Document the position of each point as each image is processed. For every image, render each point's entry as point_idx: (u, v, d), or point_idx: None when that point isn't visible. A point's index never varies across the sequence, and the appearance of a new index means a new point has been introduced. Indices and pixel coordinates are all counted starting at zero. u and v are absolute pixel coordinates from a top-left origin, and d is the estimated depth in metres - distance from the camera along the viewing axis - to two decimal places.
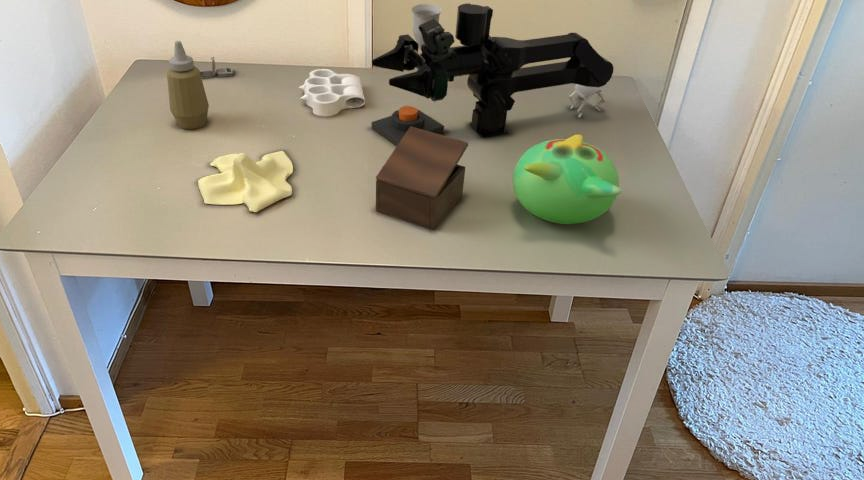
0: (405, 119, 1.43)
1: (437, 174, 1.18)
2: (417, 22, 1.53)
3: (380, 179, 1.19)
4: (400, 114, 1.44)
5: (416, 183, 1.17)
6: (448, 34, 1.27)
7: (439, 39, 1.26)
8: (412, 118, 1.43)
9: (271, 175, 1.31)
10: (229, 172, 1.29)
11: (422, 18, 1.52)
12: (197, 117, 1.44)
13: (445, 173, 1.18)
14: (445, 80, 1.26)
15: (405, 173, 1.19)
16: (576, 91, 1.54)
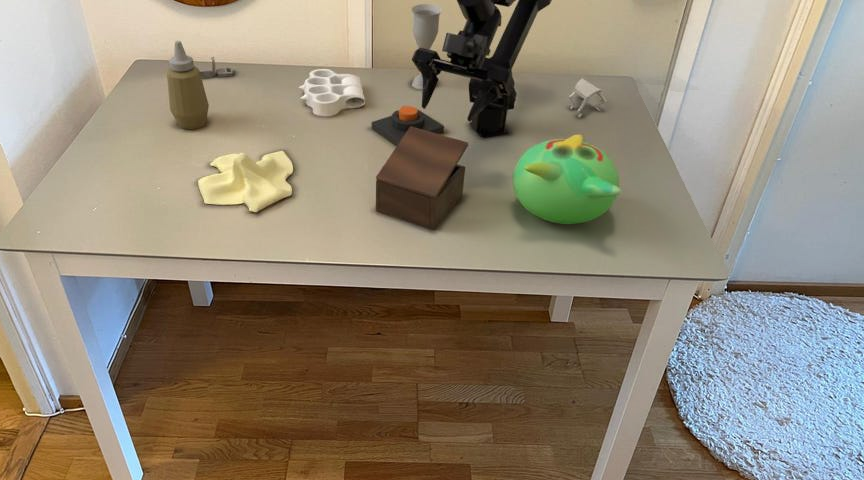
0: (405, 119, 1.43)
1: (437, 174, 1.18)
2: (417, 22, 1.53)
3: (380, 179, 1.19)
4: (400, 114, 1.44)
5: (416, 183, 1.17)
6: (480, 39, 1.16)
7: (479, 51, 1.16)
8: (412, 118, 1.43)
9: (271, 175, 1.31)
10: (229, 172, 1.29)
11: (422, 18, 1.52)
12: (197, 117, 1.44)
13: (445, 173, 1.18)
14: (511, 76, 1.20)
15: (405, 173, 1.19)
16: (576, 91, 1.54)
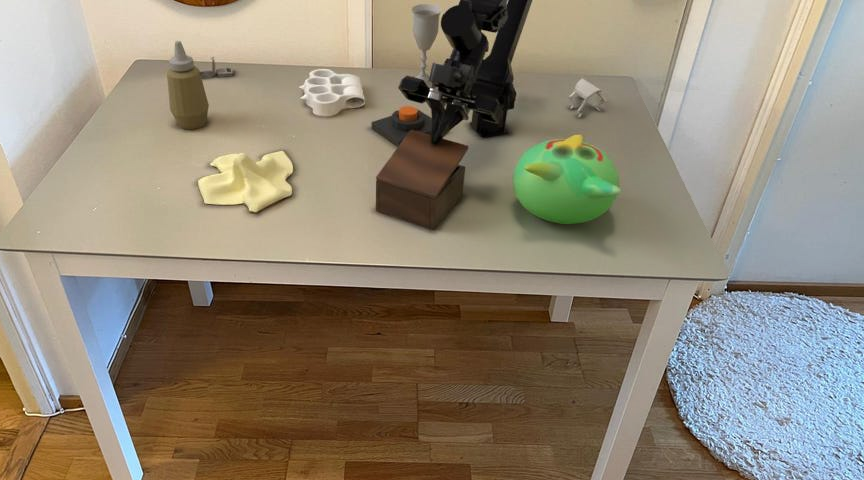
0: (405, 119, 1.43)
1: (437, 175, 1.18)
2: (417, 22, 1.53)
3: (380, 179, 1.19)
4: (400, 114, 1.44)
5: (416, 184, 1.17)
6: (467, 69, 1.14)
7: (466, 82, 1.15)
8: (412, 118, 1.43)
9: (271, 175, 1.31)
10: (229, 172, 1.29)
11: (422, 18, 1.52)
12: (197, 117, 1.44)
13: (445, 174, 1.18)
14: (499, 105, 1.18)
15: (406, 174, 1.19)
16: (576, 91, 1.54)
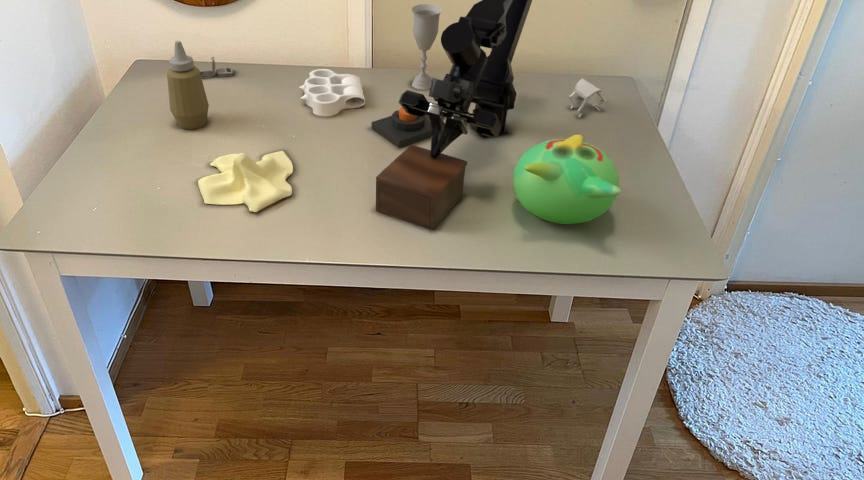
0: (405, 119, 1.43)
1: (437, 180, 1.19)
2: (417, 22, 1.53)
3: (380, 179, 1.19)
4: (400, 114, 1.44)
5: (417, 185, 1.18)
6: (467, 85, 1.17)
7: (465, 97, 1.17)
8: (412, 118, 1.43)
9: (271, 175, 1.31)
10: (229, 172, 1.29)
11: (422, 18, 1.52)
12: (197, 117, 1.44)
13: (445, 180, 1.19)
14: (498, 120, 1.20)
15: (406, 177, 1.20)
16: (576, 91, 1.54)
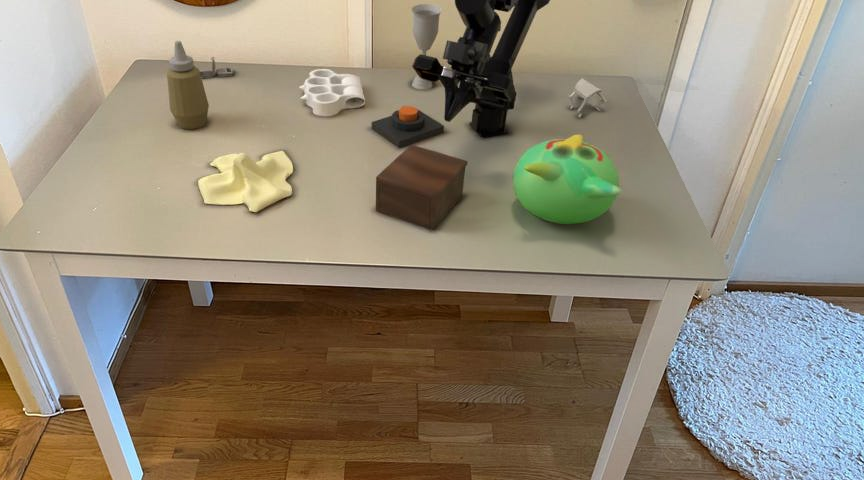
0: (405, 119, 1.43)
1: (437, 180, 1.19)
2: (417, 22, 1.53)
3: (380, 179, 1.19)
4: (400, 114, 1.44)
5: (417, 185, 1.18)
6: (481, 46, 1.17)
7: (480, 59, 1.17)
8: (412, 118, 1.43)
9: (271, 175, 1.31)
10: (229, 172, 1.29)
11: (422, 18, 1.52)
12: (197, 117, 1.44)
13: (445, 180, 1.19)
14: (512, 83, 1.20)
15: (406, 177, 1.20)
16: (576, 91, 1.54)
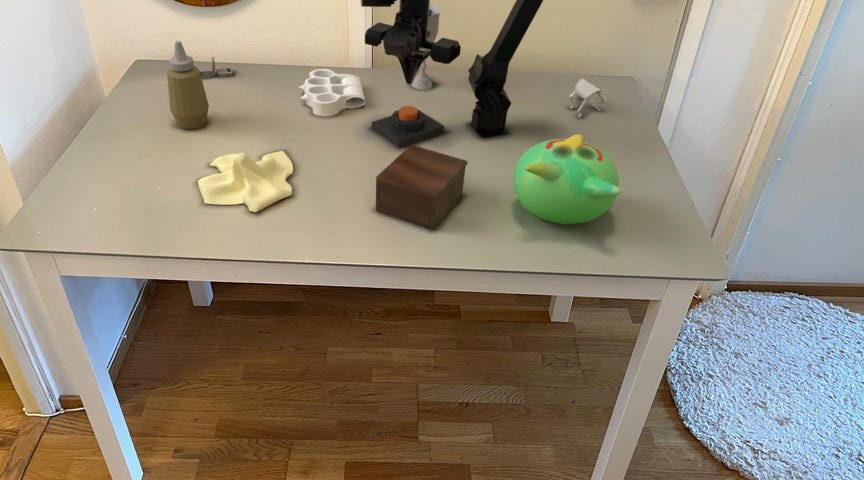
0: (405, 119, 1.43)
1: (437, 180, 1.19)
2: None
3: (380, 179, 1.19)
4: (400, 114, 1.44)
5: (417, 185, 1.18)
6: (413, 42, 1.26)
7: (416, 51, 1.27)
8: (412, 118, 1.43)
9: (271, 175, 1.31)
10: (229, 172, 1.29)
11: None
12: (197, 117, 1.44)
13: (445, 180, 1.19)
14: (453, 51, 1.30)
15: (406, 177, 1.20)
16: (576, 91, 1.54)
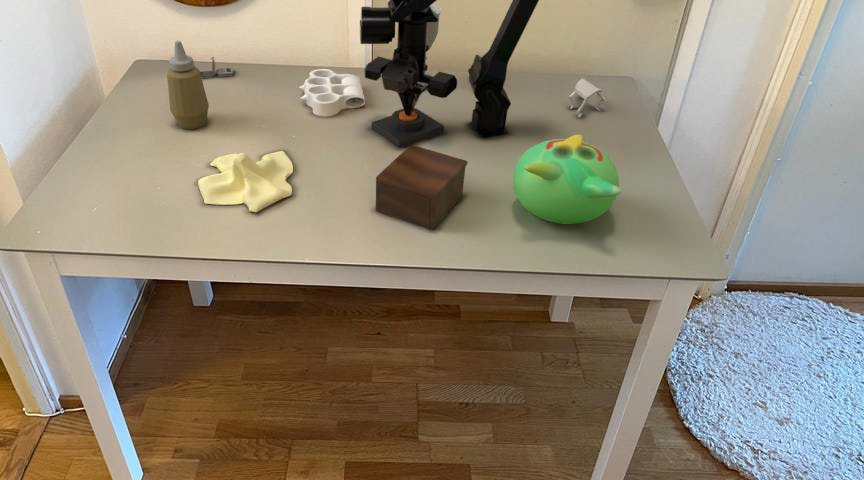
0: None
1: (437, 180, 1.19)
2: None
3: (380, 179, 1.19)
4: (400, 118, 1.44)
5: (417, 185, 1.18)
6: (410, 78, 1.31)
7: (413, 87, 1.32)
8: None
9: (271, 175, 1.31)
10: (229, 172, 1.29)
11: None
12: (197, 117, 1.44)
13: (445, 180, 1.19)
14: (449, 85, 1.35)
15: (406, 177, 1.20)
16: (576, 91, 1.54)
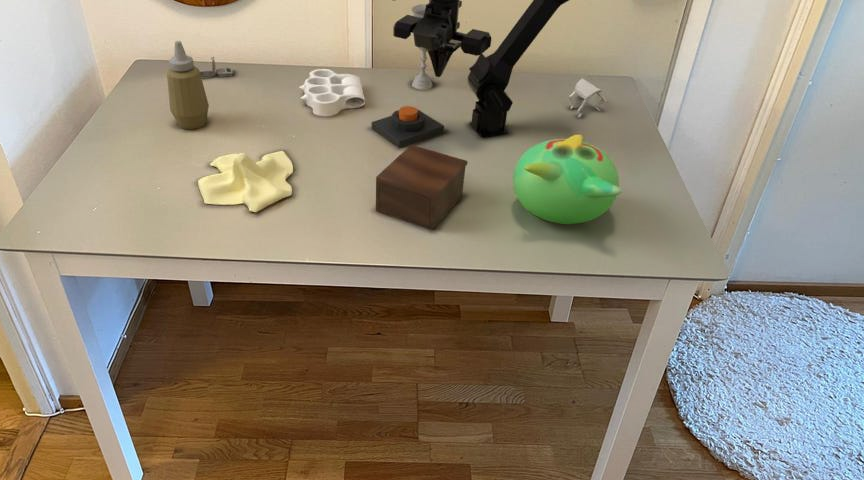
0: (405, 119, 1.43)
1: (437, 180, 1.19)
2: None
3: (380, 179, 1.19)
4: (400, 114, 1.44)
5: (417, 185, 1.18)
6: (444, 33, 1.24)
7: (447, 43, 1.26)
8: (412, 118, 1.43)
9: (271, 175, 1.31)
10: (229, 172, 1.29)
11: None
12: (197, 117, 1.44)
13: (445, 180, 1.19)
14: (484, 42, 1.28)
15: (406, 177, 1.20)
16: (576, 91, 1.54)
